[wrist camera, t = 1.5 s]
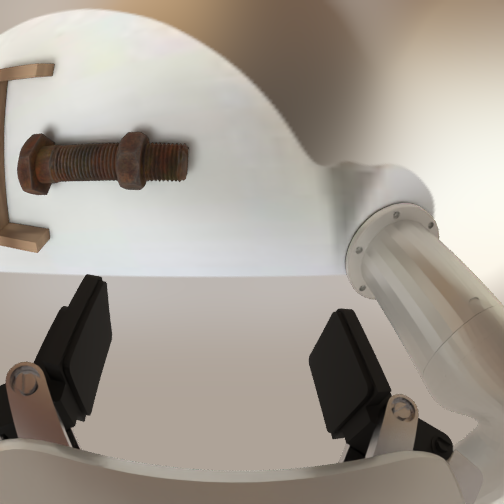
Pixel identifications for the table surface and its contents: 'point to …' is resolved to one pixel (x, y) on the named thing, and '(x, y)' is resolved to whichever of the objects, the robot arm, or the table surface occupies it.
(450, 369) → the robot arm
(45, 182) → the bolt
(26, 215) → the table surface
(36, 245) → the bracket
